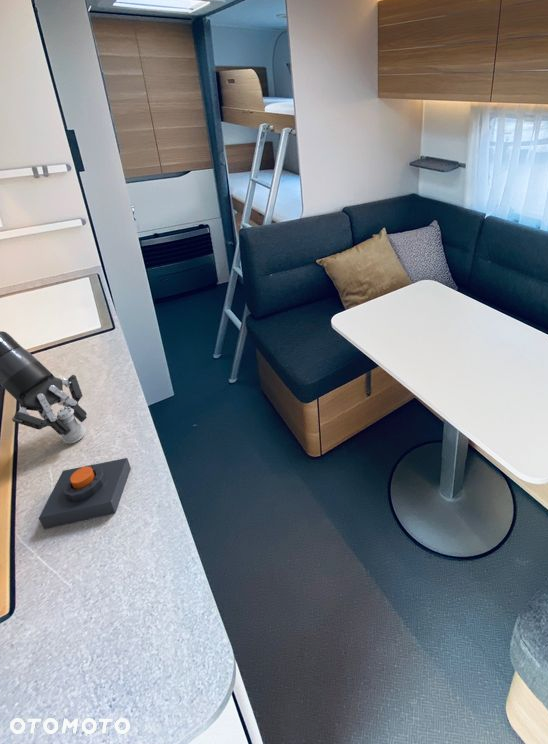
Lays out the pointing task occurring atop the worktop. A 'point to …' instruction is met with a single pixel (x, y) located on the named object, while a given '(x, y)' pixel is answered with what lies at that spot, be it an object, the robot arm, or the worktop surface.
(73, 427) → the rook chess piece
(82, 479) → the button
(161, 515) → the worktop surface
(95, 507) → the control box
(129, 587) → the worktop surface
